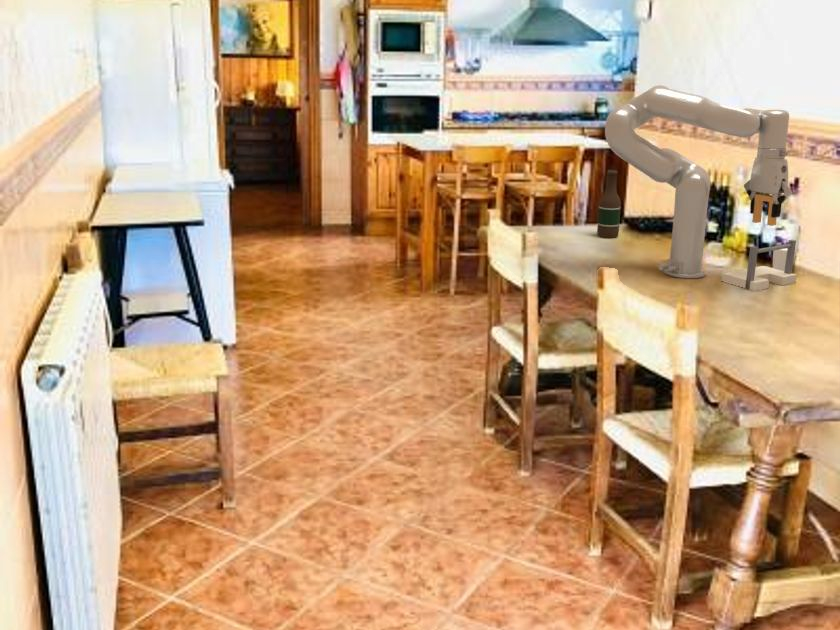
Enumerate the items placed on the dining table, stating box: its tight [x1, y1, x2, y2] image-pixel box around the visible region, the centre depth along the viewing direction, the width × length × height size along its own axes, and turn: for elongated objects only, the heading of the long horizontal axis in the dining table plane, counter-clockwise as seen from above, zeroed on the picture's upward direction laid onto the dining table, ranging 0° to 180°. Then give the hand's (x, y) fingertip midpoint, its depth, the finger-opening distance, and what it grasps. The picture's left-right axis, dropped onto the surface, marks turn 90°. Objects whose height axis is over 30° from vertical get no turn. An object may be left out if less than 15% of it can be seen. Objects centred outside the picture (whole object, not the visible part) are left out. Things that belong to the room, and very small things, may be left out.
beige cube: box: [772, 248, 798, 271], centre depth 277 cm, size 7×7×7 cm
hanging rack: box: [721, 239, 798, 292], centre depth 262 cm, size 18×12×12 cm, turn 120°
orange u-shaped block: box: [751, 193, 778, 227], centre depth 260 cm, size 2×7×8 cm, turn 32°
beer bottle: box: [596, 169, 621, 240], centre depth 318 cm, size 8×8×24 cm
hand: (764, 214), depth 261 cm, fingers closed on orange u-shaped block, 6 cm apart
